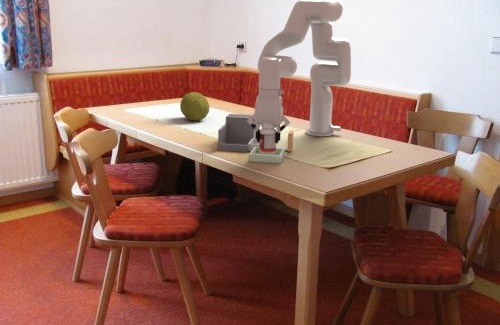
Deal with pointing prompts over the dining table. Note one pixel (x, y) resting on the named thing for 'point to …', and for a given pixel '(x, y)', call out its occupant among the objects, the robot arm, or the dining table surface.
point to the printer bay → (236, 133)
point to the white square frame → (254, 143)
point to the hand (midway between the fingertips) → (267, 141)
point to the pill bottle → (267, 139)
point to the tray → (267, 156)
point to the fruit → (194, 106)
